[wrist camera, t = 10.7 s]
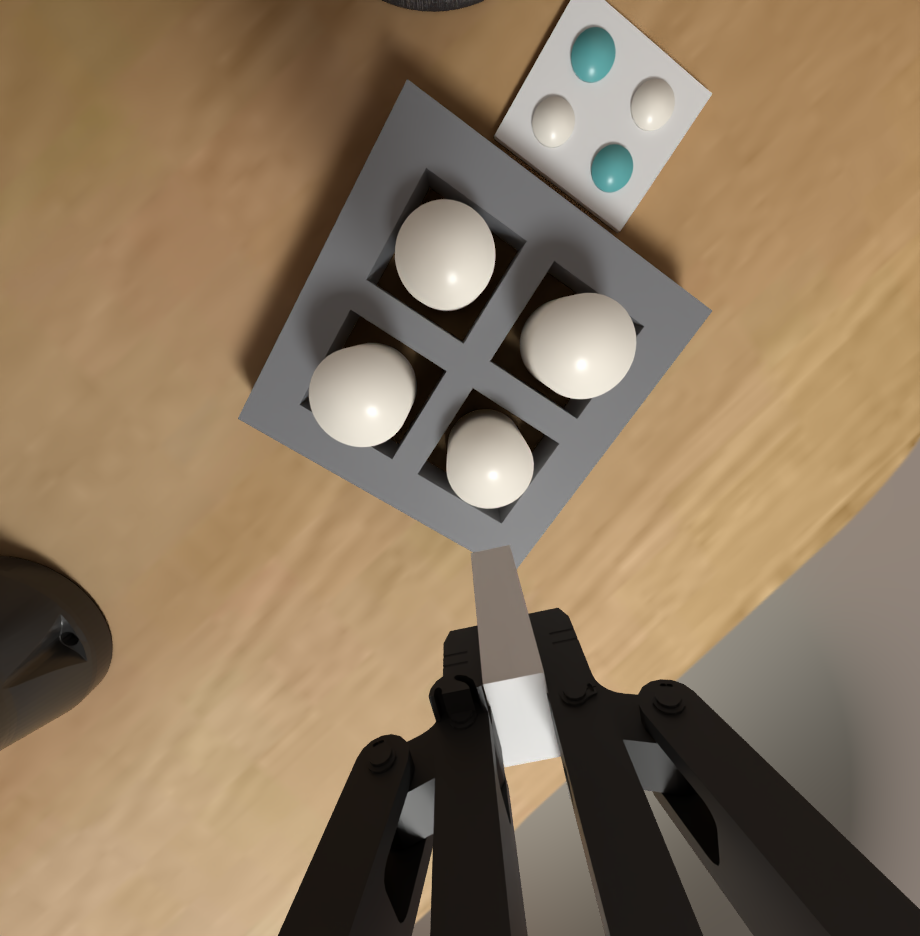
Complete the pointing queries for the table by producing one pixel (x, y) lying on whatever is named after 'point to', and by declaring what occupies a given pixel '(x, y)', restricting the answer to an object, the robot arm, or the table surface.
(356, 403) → the button
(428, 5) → the planter
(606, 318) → the button
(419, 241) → the button
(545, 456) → the board
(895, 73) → the table surface
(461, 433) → the button
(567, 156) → the card
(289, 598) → the table surface
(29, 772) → the table surface
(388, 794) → the robot arm
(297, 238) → the table surface
